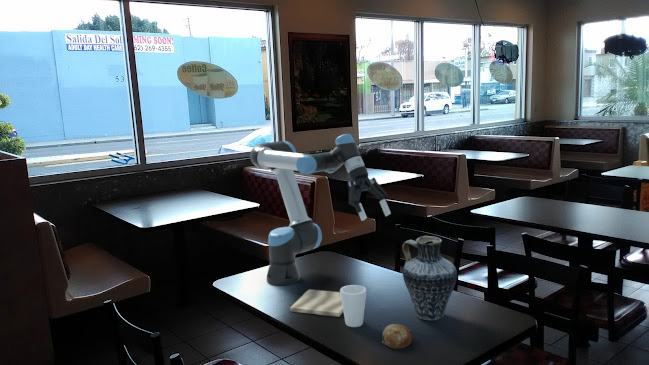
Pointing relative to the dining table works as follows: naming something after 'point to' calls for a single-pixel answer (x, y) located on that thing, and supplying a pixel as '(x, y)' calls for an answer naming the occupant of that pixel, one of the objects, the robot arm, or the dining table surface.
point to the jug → (428, 277)
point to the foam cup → (353, 304)
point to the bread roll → (396, 336)
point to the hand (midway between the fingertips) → (376, 217)
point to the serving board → (319, 303)
